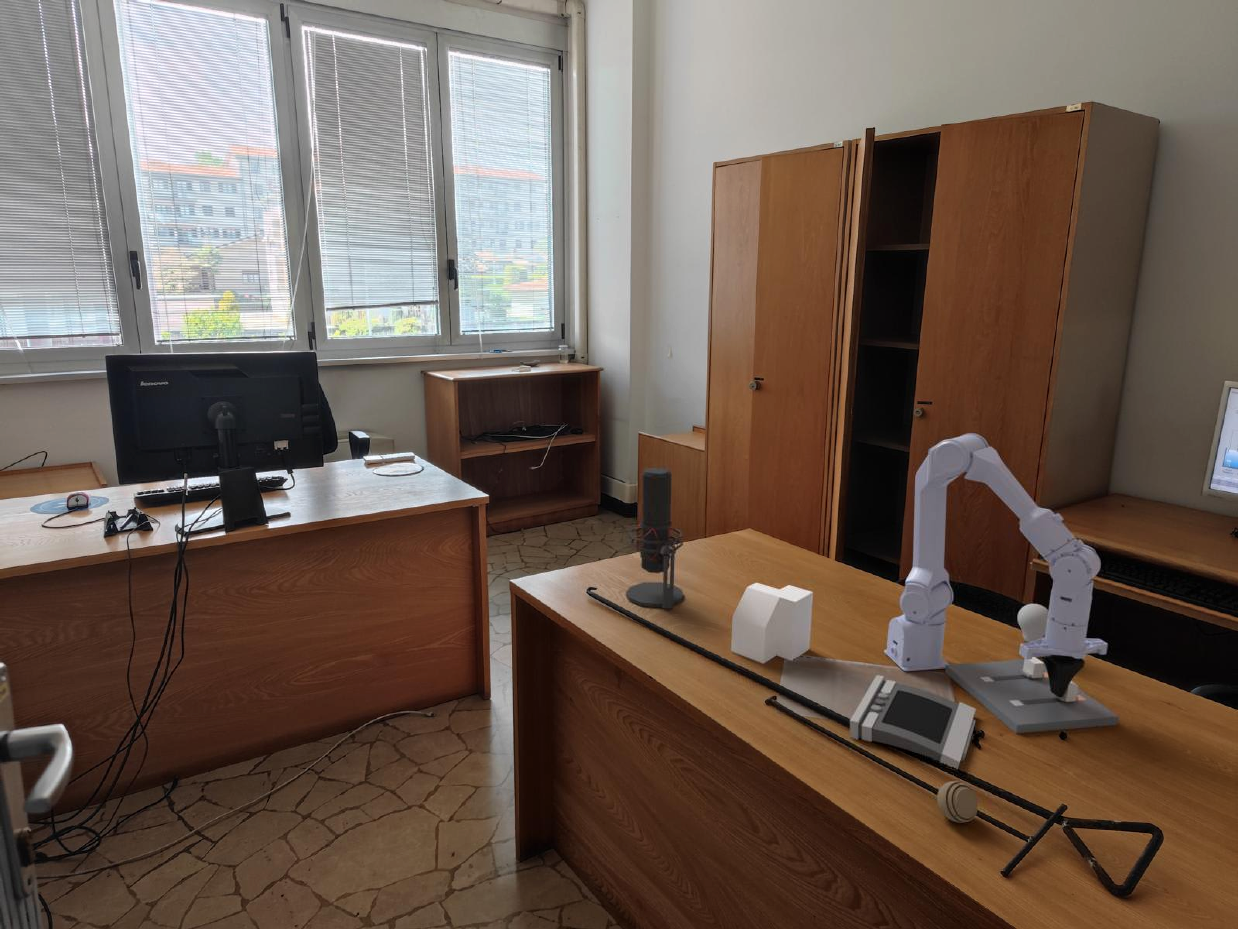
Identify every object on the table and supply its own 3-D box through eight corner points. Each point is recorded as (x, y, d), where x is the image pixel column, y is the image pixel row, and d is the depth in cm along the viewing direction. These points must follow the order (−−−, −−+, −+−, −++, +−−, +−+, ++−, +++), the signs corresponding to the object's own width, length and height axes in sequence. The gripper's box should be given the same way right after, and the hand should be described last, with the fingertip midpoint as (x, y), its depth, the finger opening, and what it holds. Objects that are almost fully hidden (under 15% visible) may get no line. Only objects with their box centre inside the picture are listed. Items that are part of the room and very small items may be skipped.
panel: (1016, 733, 119) (1017, 724, 119) (945, 672, 138) (945, 664, 138) (1117, 724, 122) (1118, 716, 121) (1033, 666, 141) (1034, 658, 140)
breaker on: (1029, 678, 132) (1031, 664, 132) (1019, 671, 135) (1021, 657, 134) (1044, 677, 133) (1047, 663, 132) (1035, 670, 135) (1036, 656, 135)
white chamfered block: (809, 649, 147) (813, 592, 145) (778, 669, 139) (782, 609, 137) (762, 633, 154) (765, 578, 152) (731, 651, 146) (733, 593, 144)
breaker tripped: (1063, 702, 125) (1065, 686, 124) (1052, 694, 127) (1054, 679, 127) (1079, 700, 125) (1081, 685, 125) (1068, 693, 128) (1070, 678, 127)
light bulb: (1052, 661, 143) (1059, 612, 141) (1018, 658, 144) (1025, 609, 142) (1041, 647, 148) (1048, 600, 146) (1009, 644, 149) (1015, 597, 147)
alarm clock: (876, 675, 131) (978, 694, 123) (876, 699, 132) (978, 720, 124) (849, 720, 117) (963, 745, 109) (850, 747, 118) (962, 774, 109)
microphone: (697, 594, 174) (701, 469, 168) (670, 614, 163) (673, 481, 156) (644, 581, 182) (646, 461, 175) (614, 600, 171) (615, 472, 164)
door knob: (935, 825, 98) (939, 792, 97) (934, 802, 103) (938, 770, 102) (977, 835, 96) (981, 801, 95) (974, 811, 101) (978, 778, 100)
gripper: (1044, 632, 118) (1033, 710, 121) (1126, 626, 120) (1113, 703, 123) (1015, 613, 125) (1005, 687, 128) (1093, 609, 127) (1082, 682, 130)
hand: (1056, 694), depth 126 cm, fingers closed
